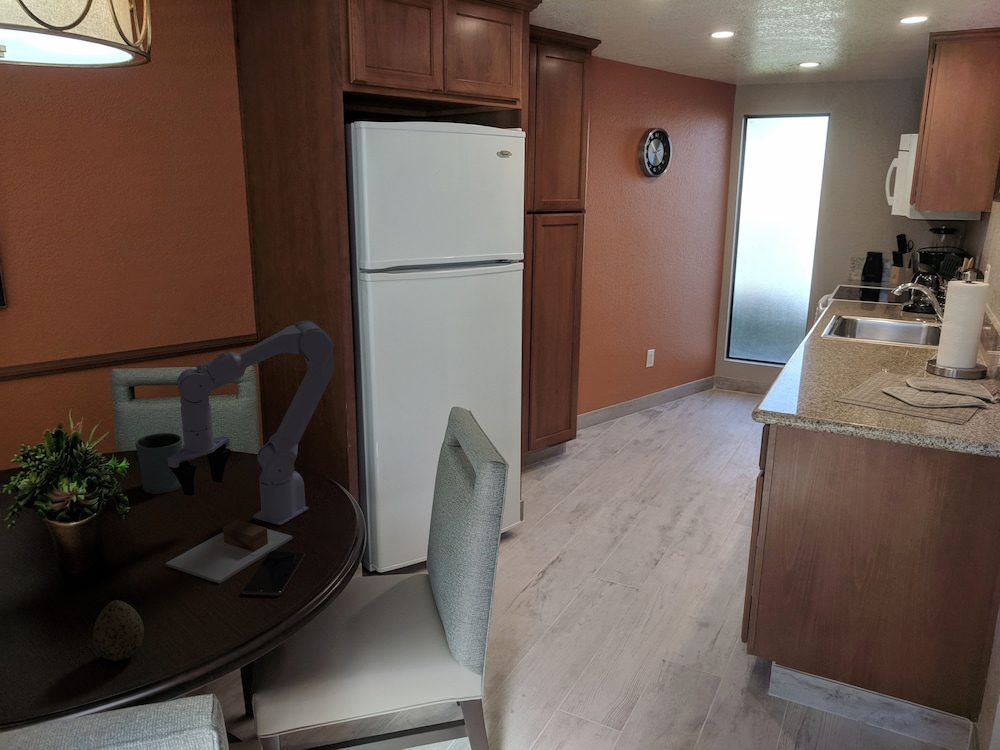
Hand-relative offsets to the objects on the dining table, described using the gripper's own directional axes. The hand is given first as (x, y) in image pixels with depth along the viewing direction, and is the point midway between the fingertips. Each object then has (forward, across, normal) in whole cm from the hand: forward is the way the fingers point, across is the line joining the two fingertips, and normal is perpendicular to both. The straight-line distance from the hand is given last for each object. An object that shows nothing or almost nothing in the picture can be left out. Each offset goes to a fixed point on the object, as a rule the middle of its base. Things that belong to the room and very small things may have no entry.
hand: (203, 488), depth 159 cm
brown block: (+9, +2, +13) cm, 16 cm away
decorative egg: (+10, +38, +22) cm, 45 cm away
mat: (+9, +5, +12) cm, 16 cm away
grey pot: (+10, -11, -26) cm, 30 cm away
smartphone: (+10, +7, +26) cm, 28 cm away
